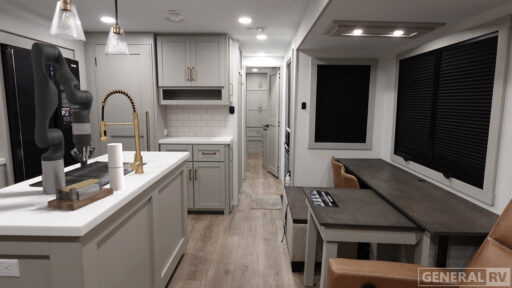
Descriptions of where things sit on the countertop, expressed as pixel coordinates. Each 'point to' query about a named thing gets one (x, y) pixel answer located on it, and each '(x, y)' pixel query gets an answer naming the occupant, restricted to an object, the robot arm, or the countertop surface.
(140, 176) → the countertop surface
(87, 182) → the plate
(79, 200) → the stand
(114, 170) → the cylindrical container
